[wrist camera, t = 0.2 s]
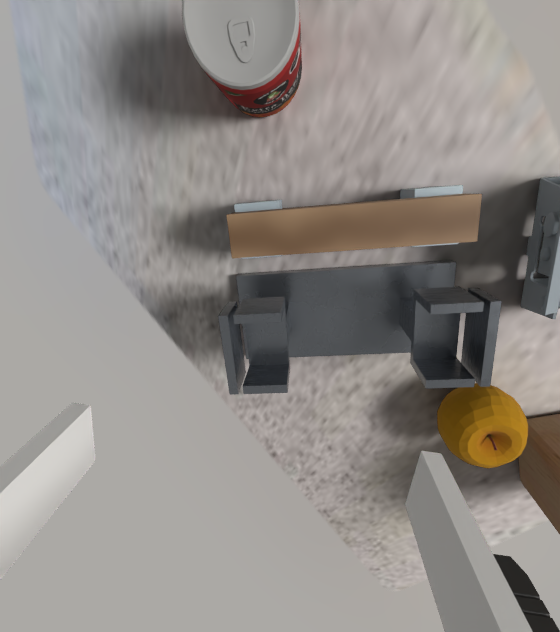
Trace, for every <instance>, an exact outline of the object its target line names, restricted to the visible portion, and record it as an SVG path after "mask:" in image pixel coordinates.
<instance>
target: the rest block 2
mask: <svg viewBox="0 0 560 632" xmlns="http://www.w3.org/2000/svg"><path fill="white" fill-rule="evenodd" d="M462 193H463V185H454V186H436V187H424V188H413V189H401V192H400V199H404V198H416V197H429V196H441V195H453V194H462ZM450 244H458V243H448V244H433V245H419V246H411V247H421V246H436V245H450Z"/></svg>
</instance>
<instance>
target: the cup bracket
mask: <svg viewBox="0 0 560 632" xmlns="http://www.w3.org/2000/svg"><path fill="white" fill-rule="evenodd" d="M455 271H456V262H455V261H452V260H446V261H431V262H415V263H400V264H384V265H369V266H353V267H338V268H322V269H307V270H291V271H276V272H260V273H245V274H238V275H237V276H236V279H237V287H238V295H239V303H240V305H239V307H238V308H237V302H228V303H227V305H226V306H225V307H224V309H223V310H222V311H221V313H220V314H219V316H218V318H219V325H220V332H221V339H222V345H223V352H224V359H225V366H226V372H227V379H228V386H229V393H230V394H239V391H240V388H241V385H242V382H243V379H244V376H245V373H246V371H245V363H244V355H243V348H242V340H241V332H240V324H242V327H243V335H244V343H245V351H246V359H249V364H250V366H249V369H248V372H247V375H246V378H245V381H244V384H243V392H244V394H259V393H288V383H289V373H290V360H289V357H308V356H333V355H358V354H383V353H408V352H411V359H410V363H411V365H412V367H413V368H414V370H415V372H416V373H417V375H418V377H419V378H420V380H421V382H422V383H423V385H424V387H425V388H457V387H474V384H475V381H476V383H477V384H478V385H479V386H480V387H490V384H491V376H492V369H493V361H494V354H495V347H496V339H497V332H498V324H499V317H500V309H501V302H502V301H500V300H499V299H497V298H495V297H493V296H492V295H490V294H488V293H486V292H484V291H483V290H481V289H479V288H469V289H468V292H467V291H465V290H464V289H462V288H461V287H459V286H458V287H454V283H455ZM460 313H466V319H465V329H464V339H463V349H462V359H461V362H460V361H459V360H458V359H457V358H456V354H457V344H458V333H459V322H460Z"/></svg>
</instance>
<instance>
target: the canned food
mask: <svg viewBox="0 0 560 632" xmlns="http://www.w3.org/2000/svg"><path fill="white" fill-rule="evenodd" d="M182 19H183V26H184V31H185V35H186V38H187V41H188V44H189V46H190V48H191V50H192V52H193V54H194V56H195V59H196V60H197V62H198V63H199V64H200V66H201V67H202V69H203V70H204V71H205V72H206V74H207V75H208V76H209V77H210V79H211V80H212V81H213V82H214V83H215V84H216V85H217V87H218V88H219V89H220V90H221V91H222V92H223V93H224V94H225V96H226V97H227V98H228V99H229V100H230V101H231V102H232V103H233V104H234V105H235V106H236V107H237V108H238V109H239V110H241V111H242V112H244V113H246V114H248V115H251V116H255V117H267V116H271V115H274V114H276V113H278V112H279V111H281V110H283V109H284V108H285V107H286V106H287V105H288V104H289V103H290V101H291V100H292V98H293V97H294V95H295V93H296V91H297V89H298V86H299V82H300V79H301V71H302V60H301V30H300V12H299V2H298V0H182Z"/></svg>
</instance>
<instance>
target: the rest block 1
mask: <svg viewBox="0 0 560 632" xmlns="http://www.w3.org/2000/svg"><path fill="white" fill-rule="evenodd" d="M234 208H235V212H246V211H258V210H270V209H282V200H271V201H259V202H247V203H240V204H234ZM276 256H282V255H274V256H259V257H245V258H241V259H247V258H261V257H276Z"/></svg>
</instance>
